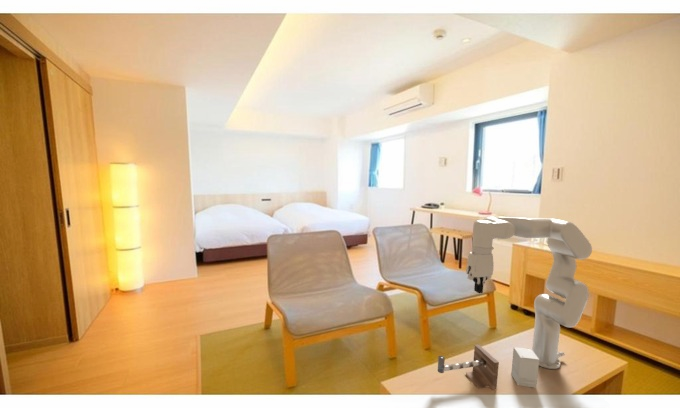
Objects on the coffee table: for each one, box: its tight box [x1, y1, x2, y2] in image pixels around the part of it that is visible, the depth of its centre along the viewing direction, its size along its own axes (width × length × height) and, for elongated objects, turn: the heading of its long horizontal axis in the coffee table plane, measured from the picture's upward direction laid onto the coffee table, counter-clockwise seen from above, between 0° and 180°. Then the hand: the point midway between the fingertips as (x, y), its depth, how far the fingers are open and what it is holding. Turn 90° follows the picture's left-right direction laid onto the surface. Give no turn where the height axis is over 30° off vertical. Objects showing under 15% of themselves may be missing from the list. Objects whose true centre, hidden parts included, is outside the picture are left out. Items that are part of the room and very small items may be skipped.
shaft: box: [437, 355, 484, 374], centre depth 120 cm, size 20×2×6 cm, turn 102°
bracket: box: [465, 344, 500, 391], centre depth 123 cm, size 7×12×12 cm, turn 12°
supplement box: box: [510, 346, 540, 388], centre depth 123 cm, size 7×7×13 cm
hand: (478, 291), depth 124 cm, fingers closed
